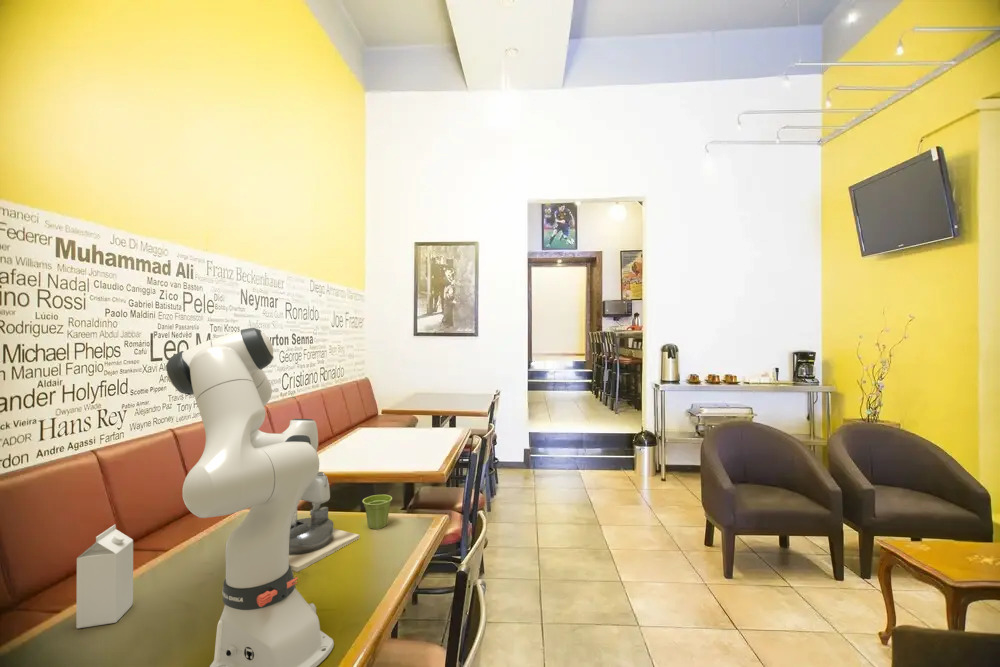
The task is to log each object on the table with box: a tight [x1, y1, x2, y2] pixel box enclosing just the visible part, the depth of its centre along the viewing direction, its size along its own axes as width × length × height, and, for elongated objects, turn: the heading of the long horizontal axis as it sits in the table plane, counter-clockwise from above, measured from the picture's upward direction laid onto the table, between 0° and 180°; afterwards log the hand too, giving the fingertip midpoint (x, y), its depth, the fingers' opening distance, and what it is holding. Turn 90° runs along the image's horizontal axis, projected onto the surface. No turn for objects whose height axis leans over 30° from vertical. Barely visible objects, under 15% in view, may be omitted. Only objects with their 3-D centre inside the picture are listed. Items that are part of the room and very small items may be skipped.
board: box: [289, 527, 361, 573], centre depth 131 cm, size 22×22×1 cm
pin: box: [290, 507, 298, 529], centre depth 127 cm, size 3×3×8 cm
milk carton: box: [75, 523, 134, 629], centre depth 99 cm, size 7×7×19 cm
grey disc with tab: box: [289, 506, 334, 554], centre depth 132 cm, size 16×16×8 cm
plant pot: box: [362, 494, 393, 530], centre depth 146 cm, size 9×9×9 cm
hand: (303, 513), depth 140 cm, fingers open, 8 cm apart
